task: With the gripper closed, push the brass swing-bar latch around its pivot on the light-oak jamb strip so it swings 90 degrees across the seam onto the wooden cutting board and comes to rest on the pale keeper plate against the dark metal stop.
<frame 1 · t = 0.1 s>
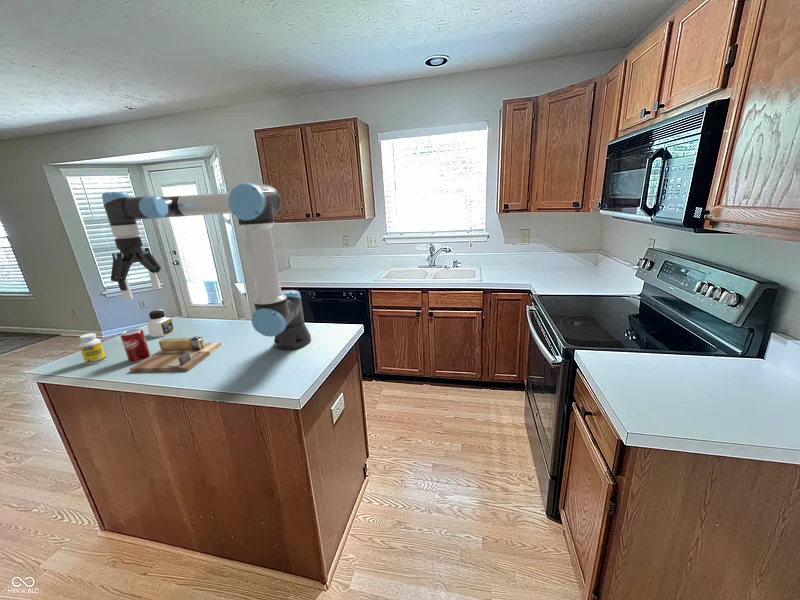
hand: (143, 293, 126), 28 cm above the worktop, fingers open, 13 cm apart
soda can: (140, 359, 136), on the worktop
pill bottle: (96, 361, 137), on the worktop
wooden cutting board: (179, 357, 135), on the worktop
medicine bottle: (162, 334, 163), on the worktop
swing bar: (181, 342, 139), point 4 cm above the worktop, hinge at 0.0°
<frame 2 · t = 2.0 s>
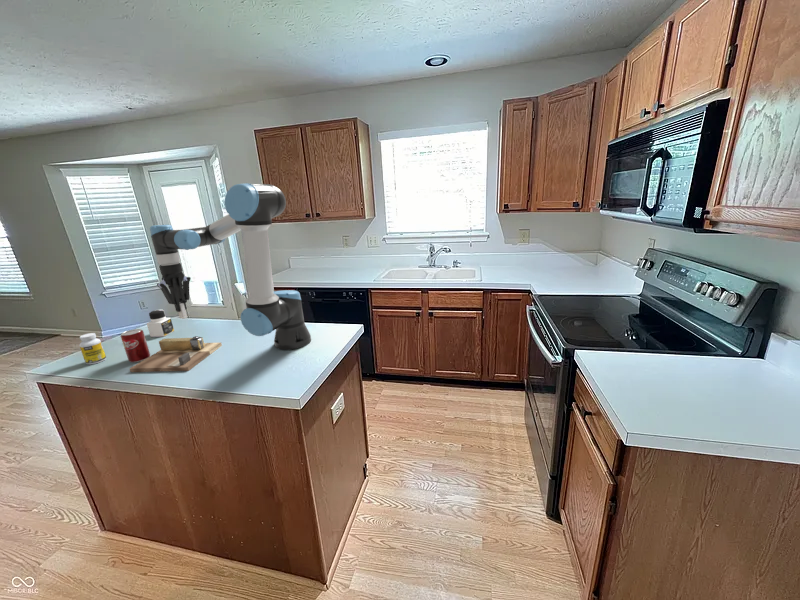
hand: (183, 317, 142), 13 cm above the worktop, fingers closed
nothing on the worktop moved.
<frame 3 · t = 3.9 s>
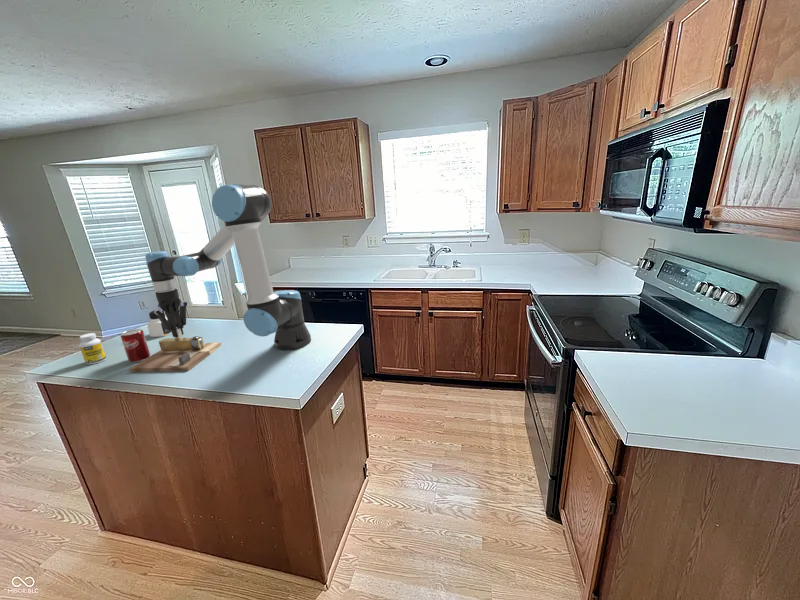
hand: (180, 343, 142), 3 cm above the worktop, fingers closed
swing bar: (181, 342, 139), point 4 cm above the worktop, hinge at 0.0°, touching gripper
everything else where it was.
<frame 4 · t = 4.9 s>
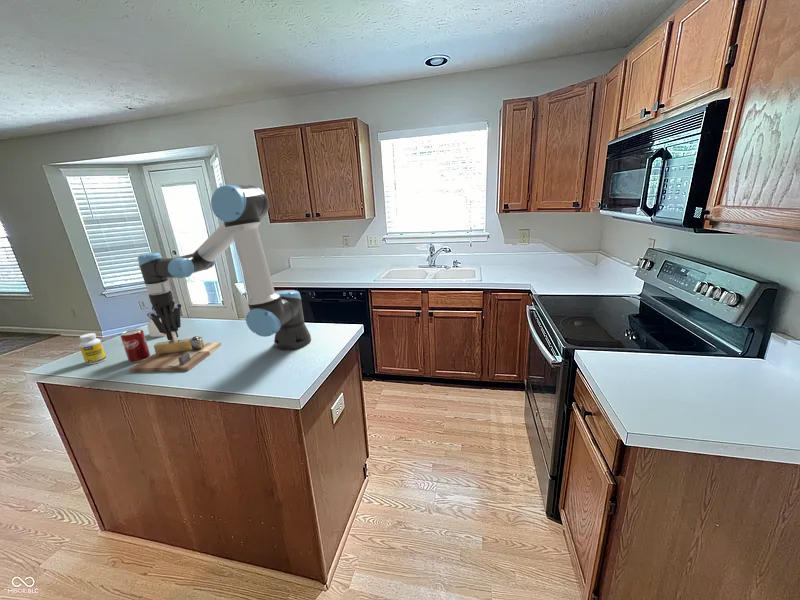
hand: (175, 345, 140), 3 cm above the worktop, fingers closed
swing bar: (179, 344, 137), point 4 cm above the worktop, hinge at 15.8°, touching gripper
everything else where it was.
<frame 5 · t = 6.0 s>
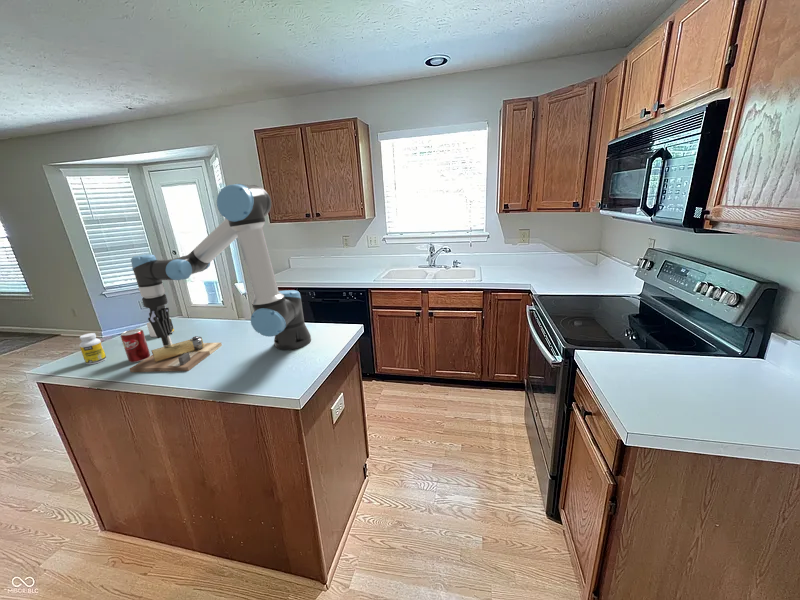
hand: (169, 351, 135), 3 cm above the worktop, fingers closed
swing bar: (178, 347, 134), point 4 cm above the worktop, hinge at 47.2°, touching gripper
everything else where it was.
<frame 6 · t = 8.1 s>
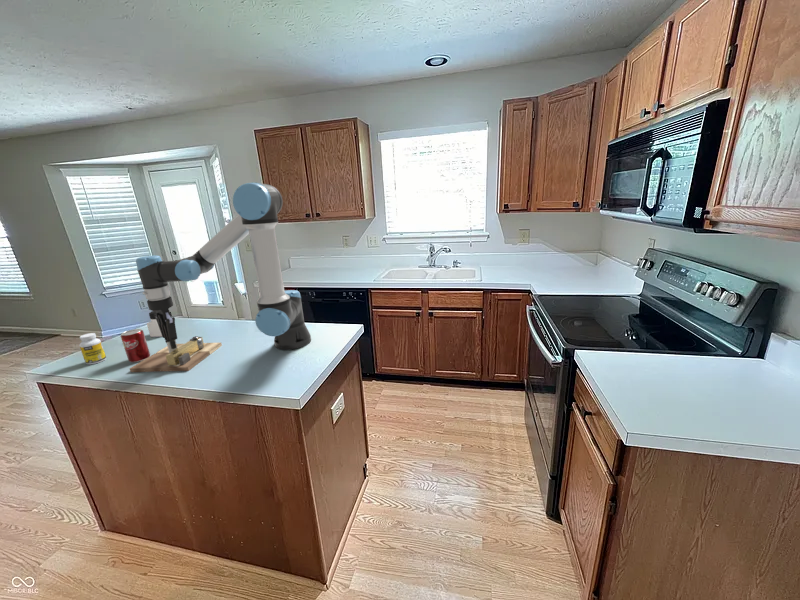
hand: (174, 355, 130), 3 cm above the worktop, fingers closed
swing bar: (186, 349, 132), point 4 cm above the worktop, hinge at 89.0°, touching gripper
everything else where it was.
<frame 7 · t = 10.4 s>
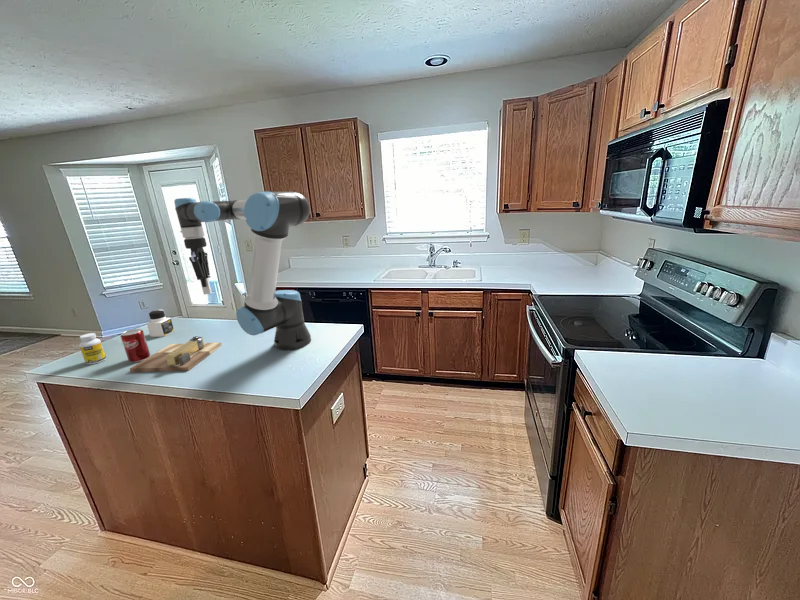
hand: (207, 293, 142), 23 cm above the worktop, fingers closed
swing bar: (186, 349, 132), point 4 cm above the worktop, hinge at 89.1°
everything else where it was.
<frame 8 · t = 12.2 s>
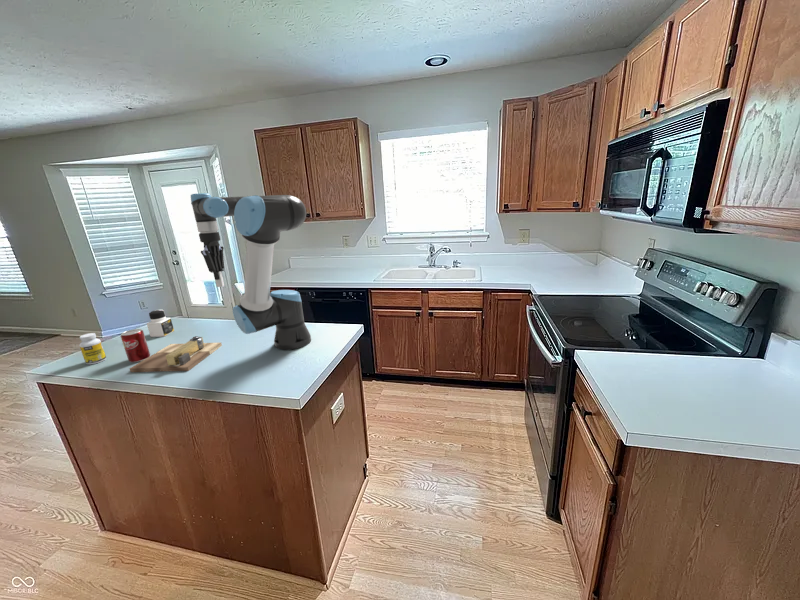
hand: (220, 286, 146), 24 cm above the worktop, fingers closed
nothing on the worktop moved.
at the end: swing bar at +89° (first picture: +0°) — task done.
